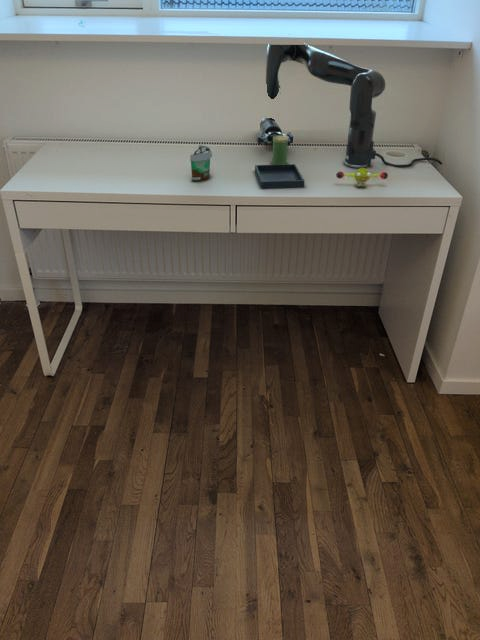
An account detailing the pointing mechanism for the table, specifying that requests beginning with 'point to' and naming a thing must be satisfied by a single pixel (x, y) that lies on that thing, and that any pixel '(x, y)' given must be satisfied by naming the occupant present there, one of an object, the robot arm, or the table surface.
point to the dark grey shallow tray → (279, 176)
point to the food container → (200, 164)
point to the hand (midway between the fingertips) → (277, 143)
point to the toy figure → (362, 176)
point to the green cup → (279, 150)
